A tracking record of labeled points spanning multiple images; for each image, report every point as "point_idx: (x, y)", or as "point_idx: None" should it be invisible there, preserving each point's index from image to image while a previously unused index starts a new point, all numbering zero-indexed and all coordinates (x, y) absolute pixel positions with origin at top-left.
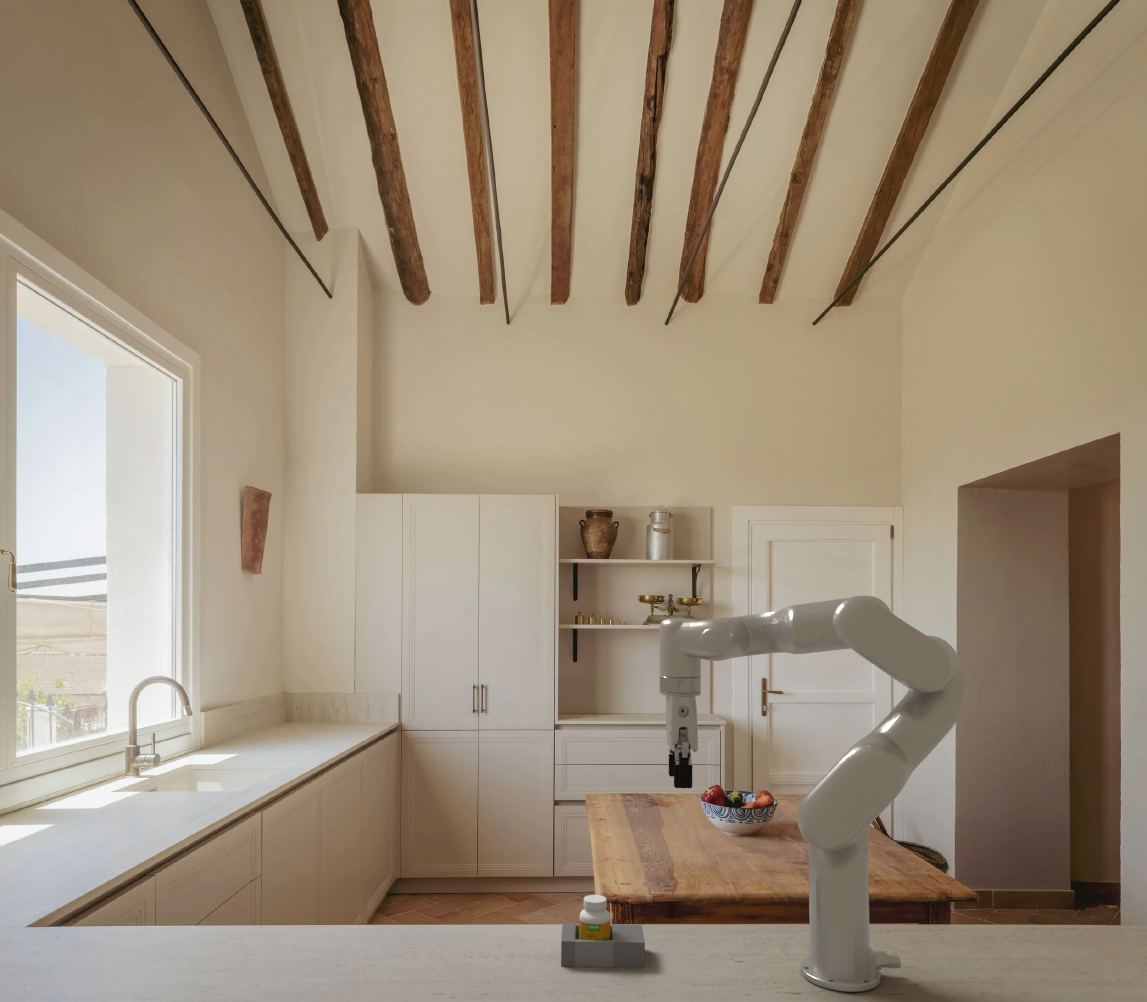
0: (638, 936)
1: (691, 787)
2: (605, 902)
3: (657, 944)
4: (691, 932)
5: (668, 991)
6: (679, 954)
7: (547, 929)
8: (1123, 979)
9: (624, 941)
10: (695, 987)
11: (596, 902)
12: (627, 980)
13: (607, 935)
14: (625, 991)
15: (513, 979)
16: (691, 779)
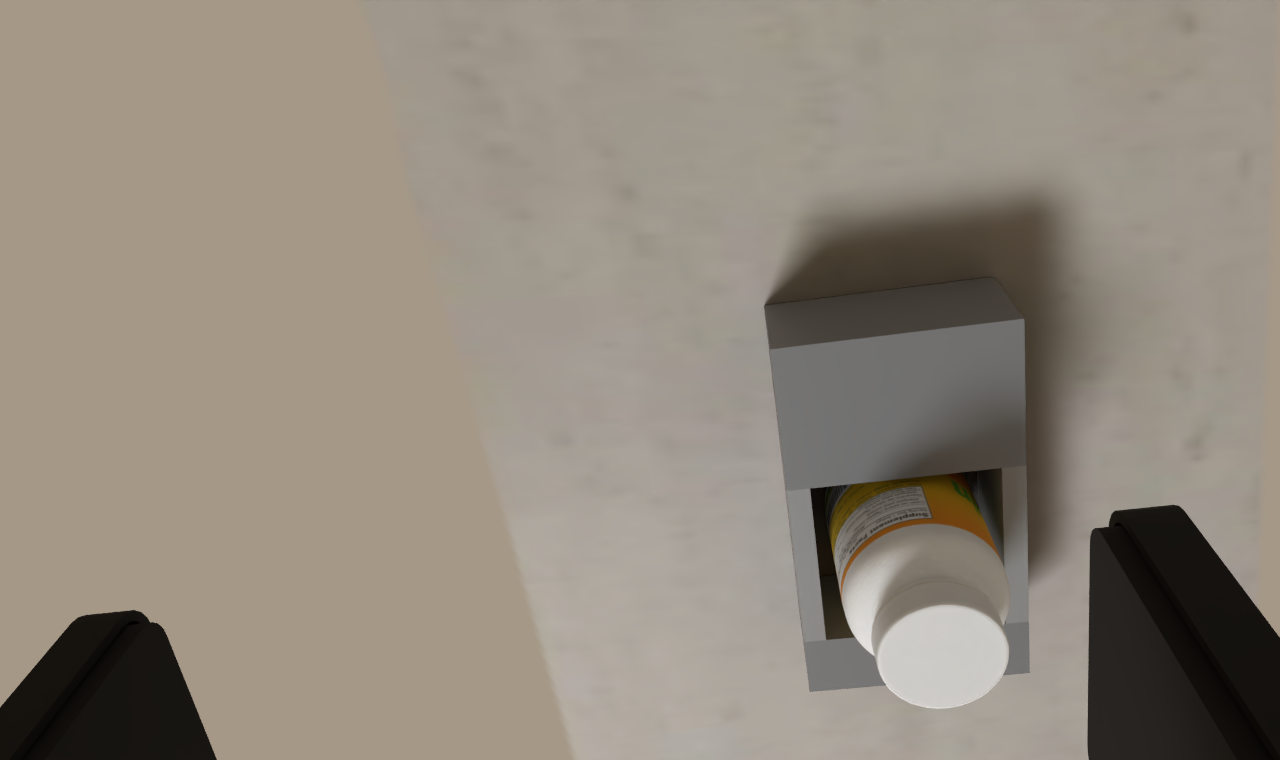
0: (940, 354)
1: (1174, 511)
2: (970, 600)
3: (696, 233)
4: (491, 60)
5: (1262, 151)
6: (810, 115)
7: (614, 699)
8: None
9: (1013, 415)
10: (1219, 18)
11: (1006, 646)
12: (1139, 340)
13: (960, 499)
14: (1256, 340)
15: None
16: (1233, 602)
